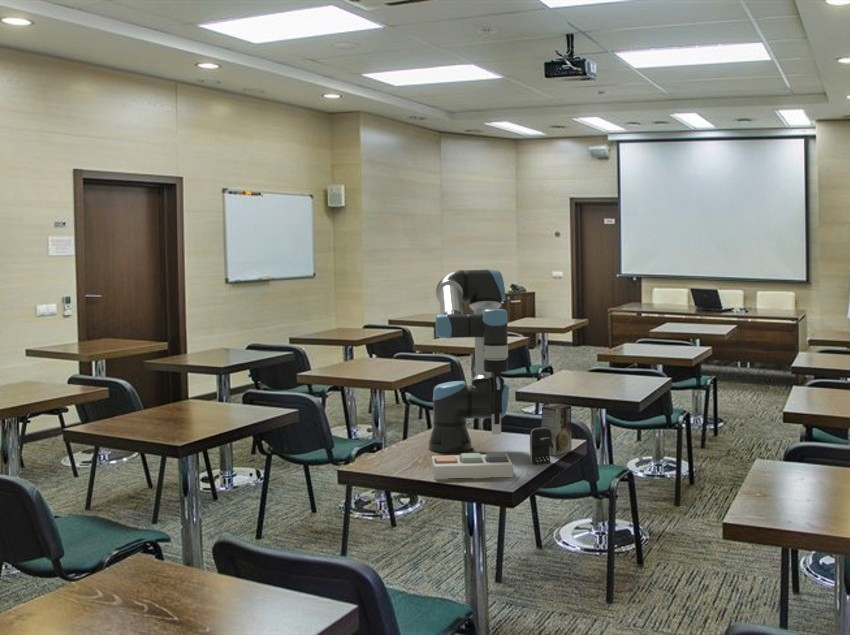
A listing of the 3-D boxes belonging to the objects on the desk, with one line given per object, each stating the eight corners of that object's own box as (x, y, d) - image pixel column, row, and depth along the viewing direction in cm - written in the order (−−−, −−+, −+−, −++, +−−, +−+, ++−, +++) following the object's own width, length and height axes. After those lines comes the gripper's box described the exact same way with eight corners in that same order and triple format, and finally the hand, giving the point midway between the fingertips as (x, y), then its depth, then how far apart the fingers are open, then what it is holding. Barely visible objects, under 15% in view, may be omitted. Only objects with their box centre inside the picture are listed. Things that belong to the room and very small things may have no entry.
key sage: (460, 462, 269) (460, 453, 269) (479, 462, 269) (479, 452, 269) (462, 467, 263) (462, 457, 263) (481, 466, 263) (481, 457, 263)
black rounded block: (536, 465, 274) (536, 430, 273) (529, 463, 277) (529, 428, 276) (553, 462, 277) (553, 428, 277) (546, 460, 281) (546, 426, 280)
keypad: (431, 468, 273) (431, 454, 272) (506, 466, 274) (506, 453, 273) (434, 479, 259) (434, 465, 258) (512, 477, 260) (512, 463, 260)
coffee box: (557, 448, 298) (556, 402, 297) (572, 451, 294) (572, 405, 292) (540, 452, 292) (540, 406, 291) (556, 455, 287) (556, 408, 286)
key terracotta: (435, 465, 269) (435, 456, 268) (454, 465, 269) (454, 456, 269) (436, 470, 263) (436, 461, 262) (456, 470, 263) (456, 460, 263)
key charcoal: (486, 462, 269) (486, 452, 269) (504, 461, 270) (504, 452, 269) (488, 466, 263) (488, 457, 263) (507, 466, 264) (507, 456, 263)
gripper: (481, 356, 270) (482, 430, 272) (486, 361, 257) (487, 438, 259) (504, 356, 271) (505, 429, 272) (510, 360, 258) (511, 437, 259)
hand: (496, 433), depth 265 cm, fingers closed
